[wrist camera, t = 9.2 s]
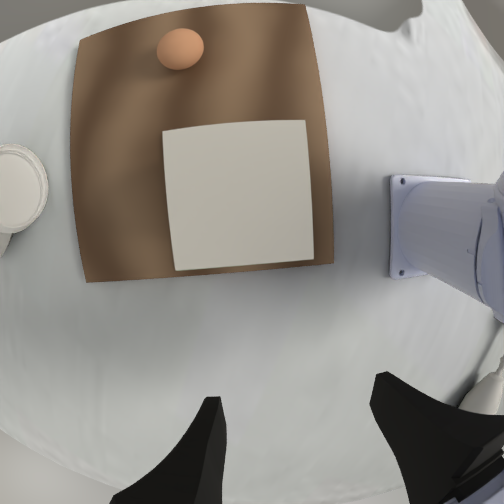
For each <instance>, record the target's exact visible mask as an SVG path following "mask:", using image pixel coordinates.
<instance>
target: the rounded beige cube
mask: <svg viewBox="0 0 504 504" xmlns="http://www.w3.org/2000/svg"><path fill="white" fill-rule="evenodd" d="M162 133H163V154H164V170H165V184H166V195H167V206H168V216H169V225H170V234H171V242H172V250H173V257H174V264H175V270H186V269H199V268H212V267H225V266H238V265H250V264H262V263H274V262H286V261H297V260H309V259H314V249H313V219H312V198H311V182H310V168H309V155H308V143H307V132H306V122H305V120H269V121H249V122H234V123H223V124H213V125H204V126H195V127H188V128H181V129H174V130H168V131H162Z"/></svg>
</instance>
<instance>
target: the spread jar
mask: <svg viewBox="0 0 504 504" xmlns="http://www.w3.org/2000/svg"><path fill="white" fill-rule="evenodd" d="M48 188H49V187H48V179H47V174H46V171H45V169H44V166H43V165H42V163H41V161H40V160H39V158H38V157H37V156H36V155H35V154H34V153H33V152H32V151H31V150H29V149H28V148H26V147H24V146H21V145H18V144H5V145H1V146H0V258H1V257H2V255H3V254H4V252H5V251H6V249H7V247H8V246H9V244H10V241H11V239H12V237H13V234H14V233H17V232H20V231H22V230H24V229H25V228H27V227H28V226H30V225H31V224H32V223H33V222H34V221H35V220H36V219H37V217H38V216H39V215H40V214H41V212H42V211H43V209H44V207H45V205H46V202H47V197H48Z"/></svg>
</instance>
